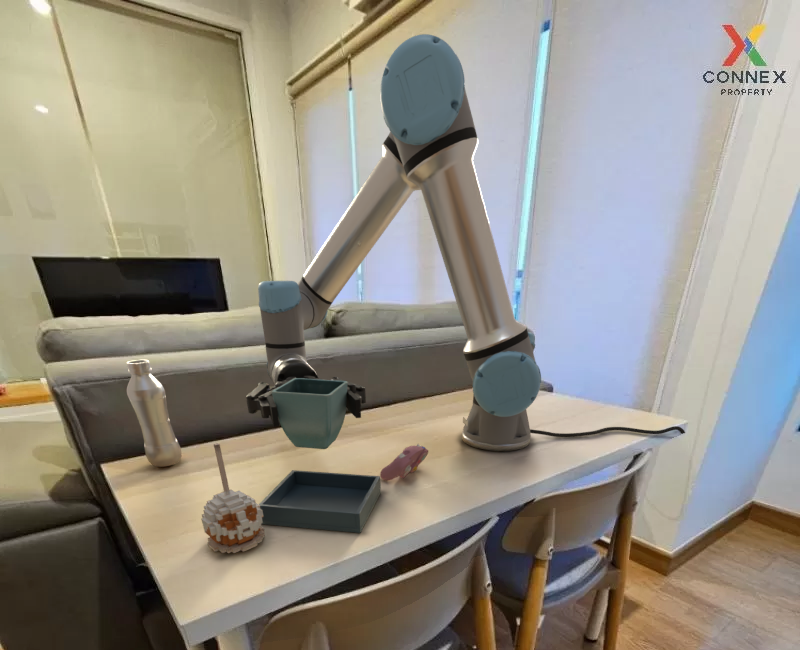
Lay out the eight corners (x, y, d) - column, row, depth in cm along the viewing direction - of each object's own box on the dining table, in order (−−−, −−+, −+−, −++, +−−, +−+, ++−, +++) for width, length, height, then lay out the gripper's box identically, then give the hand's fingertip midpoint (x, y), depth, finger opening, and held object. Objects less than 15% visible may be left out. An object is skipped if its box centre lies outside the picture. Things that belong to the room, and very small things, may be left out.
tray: (380, 493, 82) (380, 476, 80) (360, 533, 70) (359, 513, 68) (294, 486, 84) (292, 469, 83) (260, 524, 72) (257, 505, 71)
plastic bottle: (191, 460, 96) (165, 359, 86) (167, 472, 91) (137, 366, 80) (166, 456, 98) (138, 357, 88) (141, 468, 92) (108, 364, 82)
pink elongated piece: (395, 491, 86) (409, 463, 81) (376, 477, 87) (390, 448, 82) (421, 473, 93) (436, 447, 88) (404, 460, 94) (418, 433, 89)
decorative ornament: (225, 562, 63) (200, 459, 56) (200, 541, 68) (174, 444, 60) (274, 541, 68) (258, 444, 60) (248, 523, 73) (230, 430, 65)
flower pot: (334, 456, 68) (329, 394, 63) (278, 451, 69) (269, 391, 65) (351, 437, 75) (348, 380, 71) (300, 433, 77) (294, 377, 72)
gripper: (359, 396, 89) (395, 429, 71) (231, 407, 82) (236, 447, 65) (357, 355, 85) (395, 379, 68) (223, 363, 79) (226, 393, 61)
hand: (317, 412), depth 66 cm, fingers closed on flower pot, 11 cm apart
